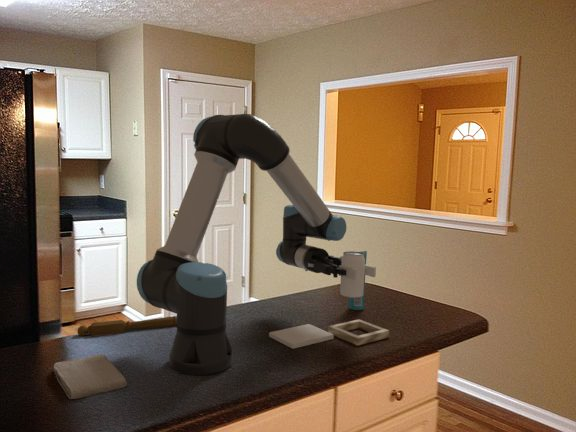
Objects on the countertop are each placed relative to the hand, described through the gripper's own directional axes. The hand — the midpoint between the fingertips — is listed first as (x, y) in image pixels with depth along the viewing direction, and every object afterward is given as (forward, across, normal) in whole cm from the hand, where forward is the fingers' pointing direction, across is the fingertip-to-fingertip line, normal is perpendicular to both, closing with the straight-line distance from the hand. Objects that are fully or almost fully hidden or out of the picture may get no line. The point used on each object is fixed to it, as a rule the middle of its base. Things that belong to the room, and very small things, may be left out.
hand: (365, 273), depth 140 cm
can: (-5, 0, -7) cm, 9 cm away
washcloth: (-14, +69, -20) cm, 73 cm away
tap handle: (-41, +49, -20) cm, 67 cm away
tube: (-24, -20, -19) cm, 37 cm away
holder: (-4, -2, -19) cm, 19 cm away
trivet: (-11, +13, -19) cm, 25 cm away
